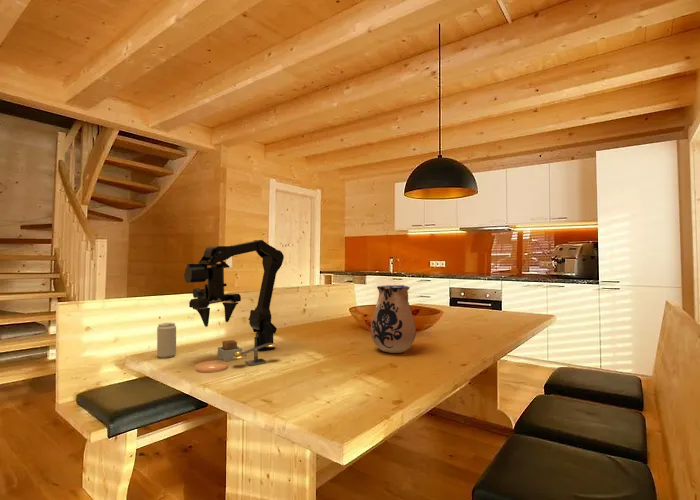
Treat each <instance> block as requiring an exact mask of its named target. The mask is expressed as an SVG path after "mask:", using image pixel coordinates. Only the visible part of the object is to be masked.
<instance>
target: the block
mask: <svg viewBox="0 0 700 500" xmlns="http://www.w3.org/2000/svg"><path fill="white" fill-rule="evenodd" d="M221 345H222V346H221V347H222V349H223V350H224V351H226V350H233V349H237V346H238V341H236V340H234V339H230V340H223V341H222V342H221Z"/></svg>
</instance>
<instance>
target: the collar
mask: <svg viewBox="0 0 700 500" xmlns="http://www.w3.org/2000/svg"><path fill="white" fill-rule="evenodd" d="M237 351H240V352H241V353H242V352H243V349H242V348H241V347H240V346H238V345H237V349H233V350H226V351H224V350H223V349H222V346H219V347H217V358H218V359H219V360H220V361H226V362H229V361H235V360H238V359H234V358H233V356H234V355H235V352H237Z"/></svg>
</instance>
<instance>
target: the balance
mask: <svg viewBox="0 0 700 500" xmlns="http://www.w3.org/2000/svg"><path fill="white" fill-rule="evenodd" d="M265 346H266V347H275V348H276V347H278V346H279V345H278V343H274V342H273V343H266V344H263V345H261V346H258V347H255V348H254V347H252V348H250V349H248V350H244V351H242V353H241V352H240V351H237V352H235V355H234V356H233V358H234V359H237V360H242V359H245V358H247V355H246V354H249V353H250V352H251V353H252V352H253V359H250V360H245V361H244V362H245V363H244V364H245V365H247V366H249V367H253V366H258V365H264V364H267V360H266V359H264V358H258V354H259V353H258V351H259V350H258V349H259V348H262V347H265Z"/></svg>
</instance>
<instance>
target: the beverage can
mask: <svg viewBox="0 0 700 500" xmlns="http://www.w3.org/2000/svg"><path fill="white" fill-rule="evenodd" d="M156 331H157V332H156V334H157V335H156V341H157V342H156V348H157V349H156V354H157V355H156V356H157V357H159V358H162V359H167V358H168V359H169V358H173V357H174V356H175V355H176V354H177V326H176V323H175V322H161V323H158V326H157V328H156Z"/></svg>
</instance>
